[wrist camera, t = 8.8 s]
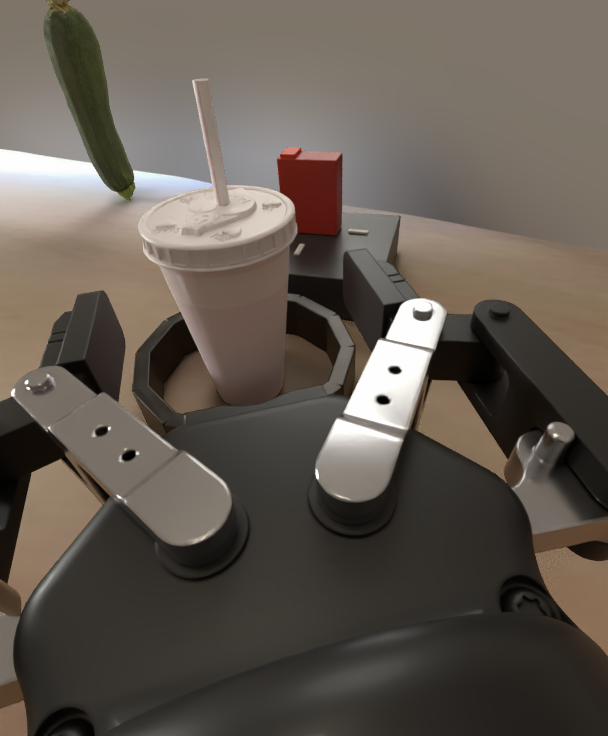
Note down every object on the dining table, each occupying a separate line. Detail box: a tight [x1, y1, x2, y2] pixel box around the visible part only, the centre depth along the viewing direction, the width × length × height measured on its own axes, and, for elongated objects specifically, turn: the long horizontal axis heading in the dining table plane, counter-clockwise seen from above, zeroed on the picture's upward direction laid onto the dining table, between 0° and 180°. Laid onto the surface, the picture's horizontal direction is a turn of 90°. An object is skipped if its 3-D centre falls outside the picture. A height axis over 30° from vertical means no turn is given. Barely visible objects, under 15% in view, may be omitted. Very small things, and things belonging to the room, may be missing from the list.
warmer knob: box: [277, 148, 342, 236], centre depth 29 cm, size 4×2×5 cm, turn 74°
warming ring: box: [132, 293, 356, 437], centre depth 22 cm, size 11×11×2 cm
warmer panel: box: [288, 212, 400, 320], centre depth 31 cm, size 11×12×3 cm
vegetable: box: [44, 0, 135, 201], centre depth 40 cm, size 4×4×20 cm
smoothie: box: [138, 79, 297, 406], centre depth 18 cm, size 6×6×14 cm
